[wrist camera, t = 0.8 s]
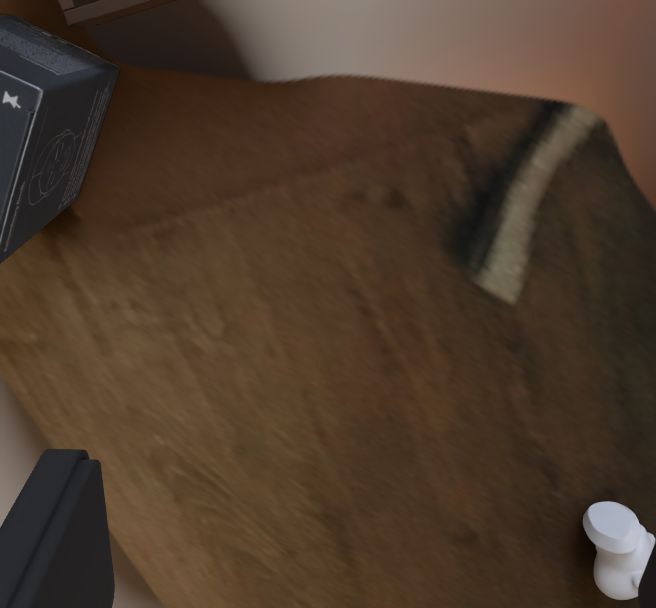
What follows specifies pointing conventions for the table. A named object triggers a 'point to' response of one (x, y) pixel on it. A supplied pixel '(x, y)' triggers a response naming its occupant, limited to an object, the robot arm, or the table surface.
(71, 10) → the tray
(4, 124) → the box
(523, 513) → the table surface
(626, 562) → the smooth white sculpture
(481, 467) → the table surface
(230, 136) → the table surface
